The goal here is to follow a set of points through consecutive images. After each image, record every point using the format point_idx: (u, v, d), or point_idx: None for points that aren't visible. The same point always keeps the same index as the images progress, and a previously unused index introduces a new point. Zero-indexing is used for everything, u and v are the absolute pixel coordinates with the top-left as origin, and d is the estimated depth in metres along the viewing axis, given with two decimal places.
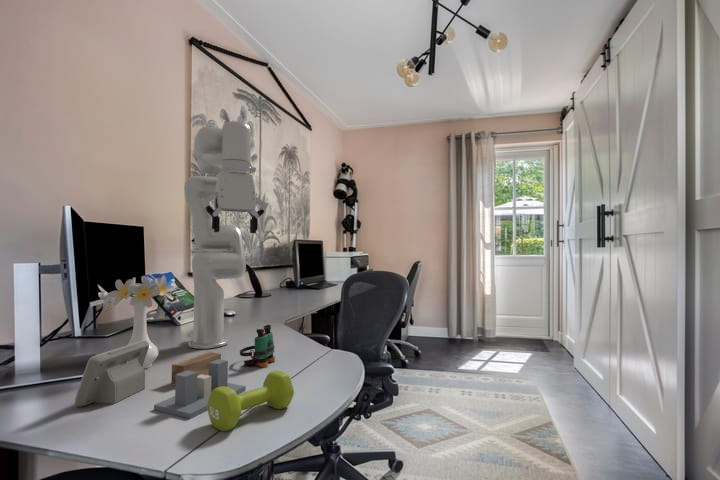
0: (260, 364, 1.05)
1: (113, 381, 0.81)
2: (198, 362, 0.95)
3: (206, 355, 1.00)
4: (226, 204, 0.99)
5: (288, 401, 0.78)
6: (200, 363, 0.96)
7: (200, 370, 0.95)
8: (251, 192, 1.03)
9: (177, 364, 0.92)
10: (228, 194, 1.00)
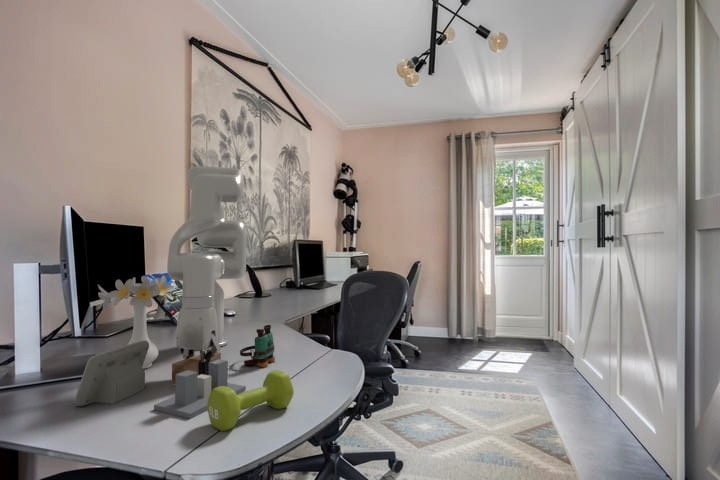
0: (260, 364, 1.05)
1: (113, 380, 0.81)
2: (198, 361, 0.95)
3: None
4: None
5: (288, 401, 0.78)
6: None
7: None
8: None
9: (177, 363, 0.92)
10: None
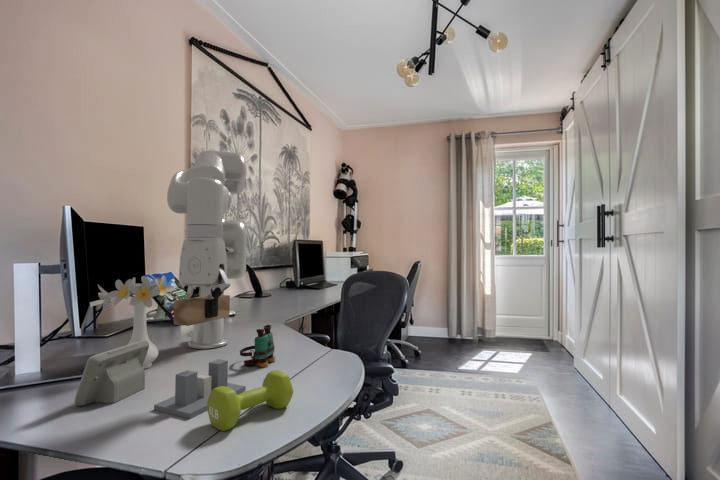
0: (260, 364, 1.05)
1: (113, 380, 0.81)
2: (204, 300, 0.82)
3: None
4: None
5: (287, 401, 0.79)
6: None
7: None
8: None
9: (180, 300, 0.80)
10: None
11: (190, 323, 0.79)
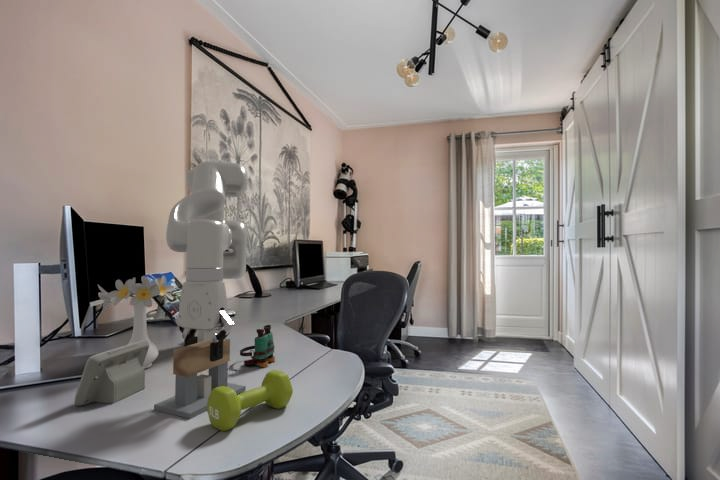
0: (260, 364, 1.05)
1: (112, 380, 0.81)
2: (204, 348, 0.81)
3: None
4: None
5: (287, 400, 0.79)
6: (207, 349, 0.82)
7: (206, 358, 0.82)
8: None
9: (180, 350, 0.79)
10: None
11: (190, 374, 0.78)
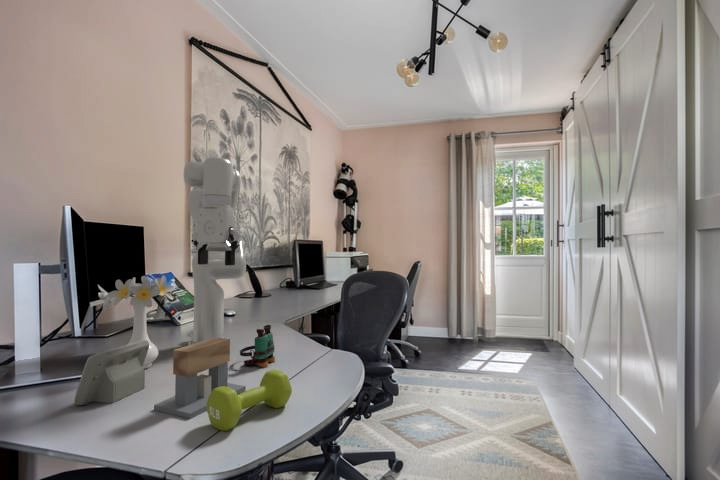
0: (260, 364, 1.05)
1: (112, 380, 0.81)
2: (204, 348, 0.81)
3: (213, 340, 0.86)
4: None
5: (286, 400, 0.79)
6: (207, 349, 0.82)
7: (206, 358, 0.82)
8: None
9: (180, 350, 0.79)
10: None
11: (190, 374, 0.78)
